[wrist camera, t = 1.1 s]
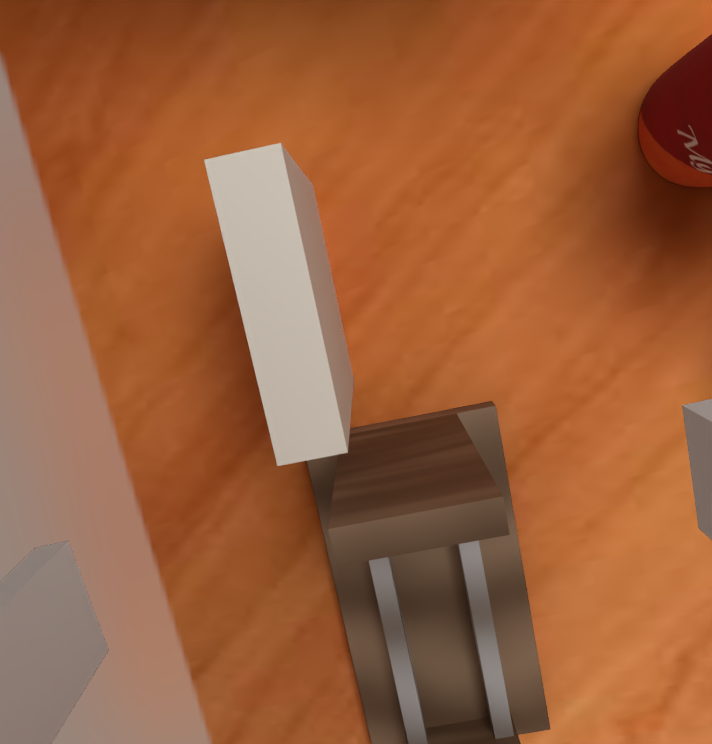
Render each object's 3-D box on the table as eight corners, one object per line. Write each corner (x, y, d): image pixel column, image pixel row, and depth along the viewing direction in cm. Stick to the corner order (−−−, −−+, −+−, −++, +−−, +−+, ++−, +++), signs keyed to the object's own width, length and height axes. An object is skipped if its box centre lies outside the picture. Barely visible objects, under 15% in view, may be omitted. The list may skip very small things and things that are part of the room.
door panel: (263, 195, 31) (200, 160, 19) (313, 184, 31) (280, 142, 19) (307, 389, 33) (274, 466, 21) (354, 380, 33) (347, 452, 21)
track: (304, 437, 33) (270, 539, 21) (491, 401, 33) (562, 485, 21) (374, 744, 37) (379, 978, 25) (545, 716, 36) (632, 940, 24)
